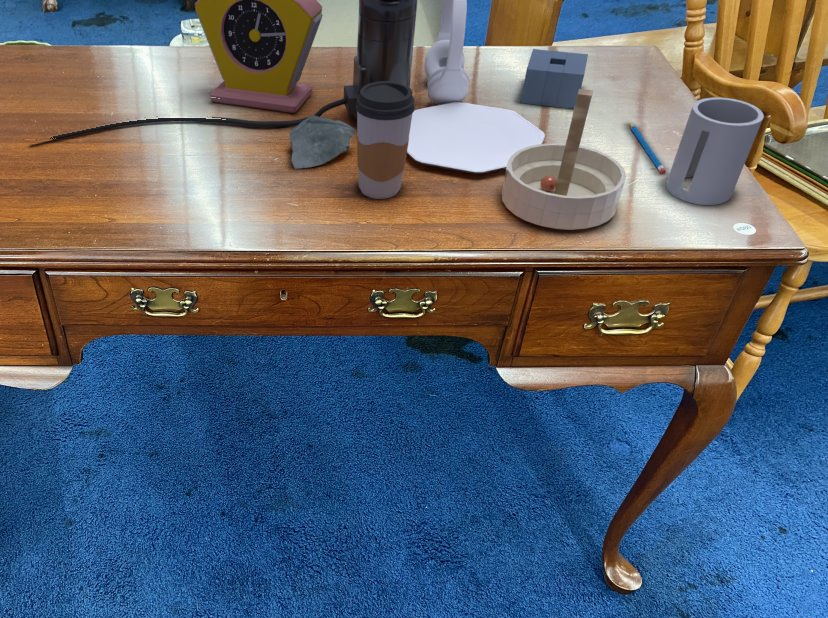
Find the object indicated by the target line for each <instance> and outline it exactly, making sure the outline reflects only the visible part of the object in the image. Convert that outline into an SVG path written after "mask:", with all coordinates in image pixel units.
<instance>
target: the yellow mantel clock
mask: <svg viewBox="0 0 828 618" xmlns="http://www.w3.org/2000/svg"><path fill="white" fill-rule="evenodd" d="M194 8H195V13H196V16H197V18H198V20H199V23H200V26H201V29H202V31H203V33H204V36H205V38H206V41H207V43H208V45H209V48H210V51H211V53H212V56H213V58H214V60H215V64H216V66H217V68H218V71H219V74H220V77H221V79H222V80H223V81H222V82H221V83H219V85H218V86H217V87H216V88H214V89H213V91H212V92H211V93H209V98H210V101H211V102H212V103H216V104H217V103H218V104H225V105H232V106H239V107H247V108H252V109H253V108H255V109H261V110H268V111H273V112H274V111H275V112H283V113H290V114H296V113H297V111H298V110H299V109H300V108H301V107H302V105H303V104H304V103H305V102H306V101H307V99H308V98H310V96H311V95H312V93H313V86H312V85H310V84H305V83H299V81H300V79H301V77H302V74H303V72H304V68H305V66H306V63H307V60H308V57H309V54H310V52H311V50H312V46H313V44H314V41H315V38H316V35H317V33H318V30H319V27H320V24H321V22H322V19H323V16H324V15H323V12H322V11H323V6H322V4H321V3H320V2H319V1H318V0H197V1H196V2H194ZM210 96H211V97H216V98H211V97H210ZM218 98H220V99H218Z"/></svg>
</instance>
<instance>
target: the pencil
mask: <svg viewBox="0 0 828 618" xmlns="http://www.w3.org/2000/svg"><path fill="white" fill-rule="evenodd" d="M629 125H630V130H631V131H632V133H633V134H634V136H635V137H636V139H637V140H638V142H639V143H640V145H641V146H642V148H643V149H644V151H645V152H646V154H647V155H648V156H649V158H650V159H651V162H653V164H654V165H655V167H656V168H657V170H658V171H659V173H660V175H665V174H666V173H667V170H666V169H665V167H664V166H663V164H662V163H661V161H660V160H659V158H658V157H657V156H656V155H655V153H654V151H653V149H652V148H651V147H650V145H649V144H648V142H647V141H646V139H645V138H644V137H643V135H642V133H641V132H640V131H639V129H638V128H637V127H636V125H634V124H633V123H630V124H629Z"/></svg>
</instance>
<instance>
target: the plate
mask: <svg viewBox="0 0 828 618" xmlns="http://www.w3.org/2000/svg"><path fill="white" fill-rule="evenodd" d="M545 138H546V134H545V132H544V131H543V130H541V129H540V128H538V127H537V126H535V125H534V124H533V123H531V122H530V121H528V120H527V119H526V118H524V117H523V116H521V115H520V114H518V113H517V112H516V111H514V110H512V109H507V108H500V107H494V106H488V105H482V104H476V103H469V102H463V101H461V102H453V103H448V104H443V105H438V104H437V105H432V106H429V107H422V108H418V109H414V112H413V114H412V120H411V127H410V133H409V143H408V149H407V155H408V156H409V157H410V158H411V159H412V160H414V162H415V163H418V164H420V165H424V166H429V167H436V168H441V169H447V170H450V171H451V170H452V171H457V172H463V173H468V174H473V175H482V174H483V175H484V174H486V173H492V172H496V171H500V170H501V171H502V170H506V168H507V163H508V161H509V159H510V157H511V156H512V155H513V154H514V153H516V152H517V151H519V150H521V149H523V148H526V147H529V146H533V145H538V144H544V143H543V142H544V141H545Z"/></svg>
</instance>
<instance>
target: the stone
mask: <svg viewBox="0 0 828 618" xmlns="http://www.w3.org/2000/svg"><path fill="white" fill-rule="evenodd" d="M309 116H310V117H309ZM309 116H307V117H308V118H307V119H305V120H304V121H302V122H301V123H300V124H299V125H296V126H294V127H293V128H292V129H291V131H290V132H289V135H288V136H289V141H290V149H291V151H292V152H291V163H292V164H291V165H292V167H293V169H295V170H299V169H308V168H312V167H313V168H314V167H316V166H321V165H324V164H327V163H328V162H330V161H333V159H335V158H336V157H338V156H339V155H341V154H343V153H346V152H348V151H349V150H350V147H352V146H351V139H352V138H353V137H354V136H355V134H356V128H354V127H352V126H351V125H349V124H348V123H345V122H343V121H341V120H339V119H335V120H334V119H332V118H328V117H323V116H320V117H317V116H315V115H314V114H312V115H309Z"/></svg>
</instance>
